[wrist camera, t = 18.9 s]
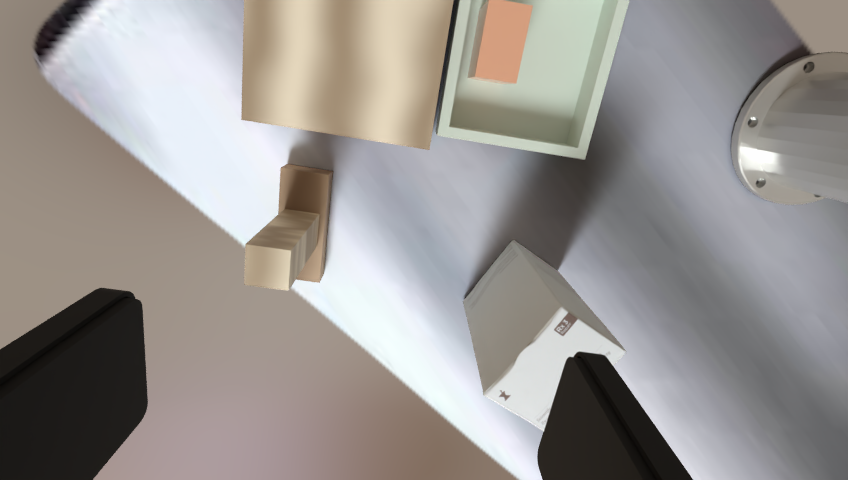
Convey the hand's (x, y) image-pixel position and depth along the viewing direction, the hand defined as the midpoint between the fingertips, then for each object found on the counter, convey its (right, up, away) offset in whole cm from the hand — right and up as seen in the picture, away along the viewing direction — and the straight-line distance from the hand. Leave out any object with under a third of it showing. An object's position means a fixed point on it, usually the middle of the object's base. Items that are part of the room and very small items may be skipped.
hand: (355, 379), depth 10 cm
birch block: (-4, +20, +25) cm, 32 cm away
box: (+10, +18, +26) cm, 33 cm away
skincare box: (+10, -1, +33) cm, 34 cm away
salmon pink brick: (+5, +18, +23) cm, 29 cm away
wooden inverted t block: (-9, +5, +30) cm, 32 cm away
